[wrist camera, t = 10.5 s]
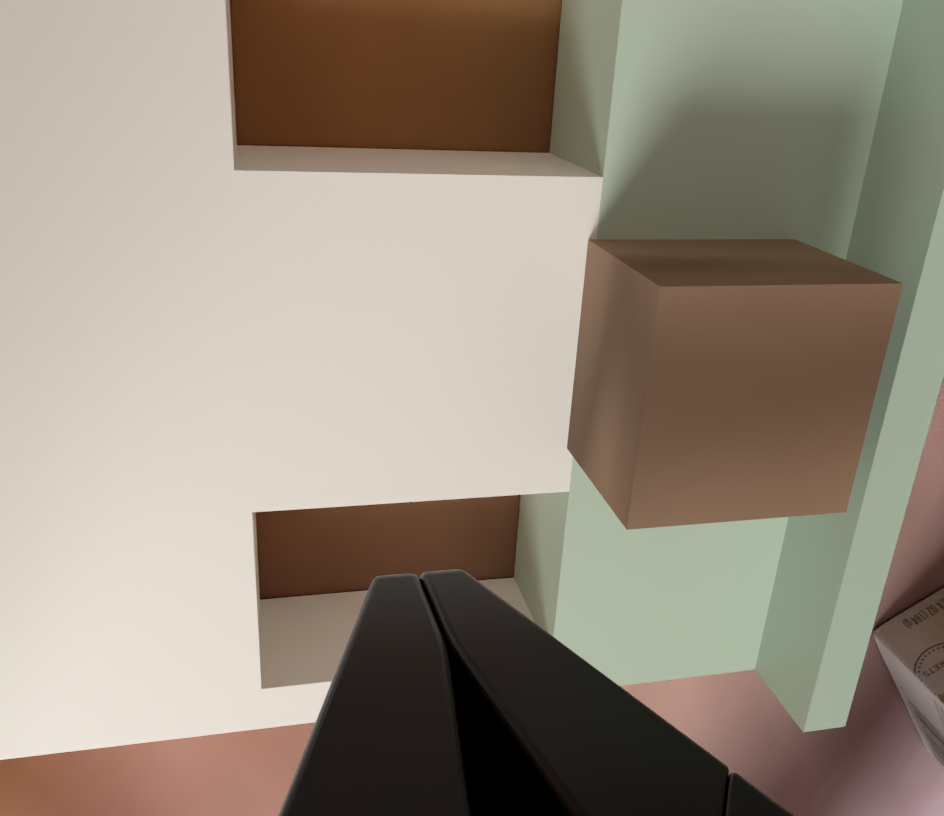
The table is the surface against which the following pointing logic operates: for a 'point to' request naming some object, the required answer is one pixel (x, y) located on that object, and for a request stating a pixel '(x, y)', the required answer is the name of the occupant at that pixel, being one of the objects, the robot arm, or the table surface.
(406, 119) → the table surface
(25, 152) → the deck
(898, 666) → the coffee box
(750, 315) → the block
